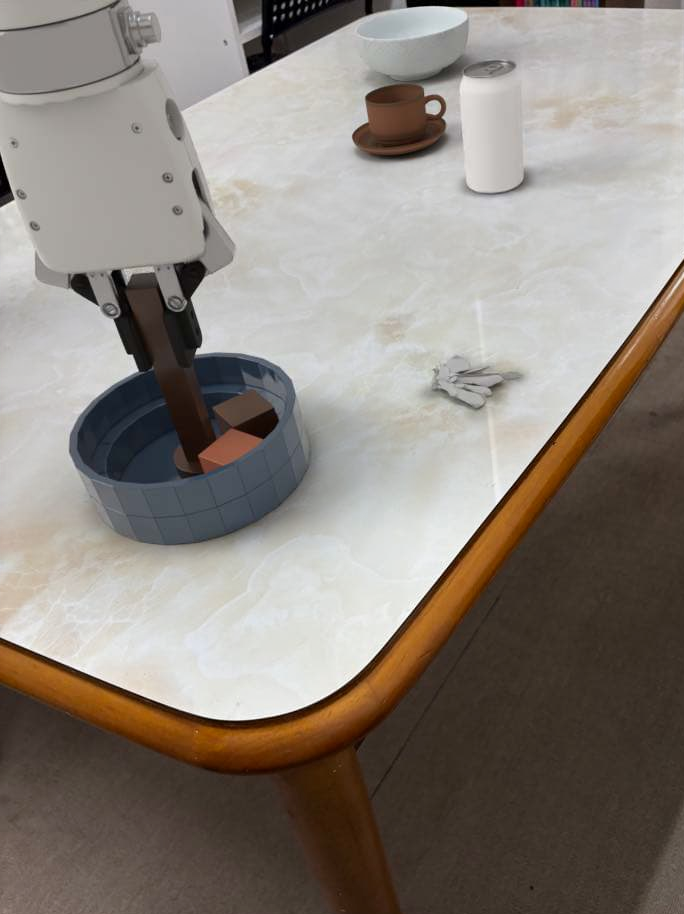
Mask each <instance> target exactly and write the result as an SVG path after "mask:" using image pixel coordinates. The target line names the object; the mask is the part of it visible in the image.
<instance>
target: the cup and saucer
mask: <svg viewBox="0 0 684 914" xmlns="http://www.w3.org/2000/svg"><path fill="white" fill-rule="evenodd" d="M364 101H365V107H366V113H367V114H366V115H367V120H368V121H367V122H365V123H363V124H361V125H360V126H359V127H357V128H355V130H354V131H353V132H352V135H351V139H352V143H353V144H354V145H355V146H356V147H357V148H358V149H360V150H361V151H363V152H366V153H368V154H372V155H380V156H396V155H404V154H409V153H413V152H414V153H415V152H417V151H420V150H423V149H425V148H427V147H429V146H432V145H433V144H435V143H436V142H437V141H438V140H439V139H441V137H443V135H444V133H446V129H447V122H446V120H445V119H444V118H443V117H444V115H445V113H446V111H447V103H446V100H445V99H444V97H443V96H442V95H440V94H435V93H433V94H428V95H426V96H425V88H424V87H423V86H421V85H418V84H415V83H396V84H389V85H385V86H382V87H378V88H375V89H373V90H371V91H369V92H368V93H367V94H366V95H365V96H364ZM431 101H436V102H439V104H440V110H439V112H438V113H436V114H433V113H428V112H427V108H426V107H427V106H426V105H427V104H428V103H429V102H431Z"/></svg>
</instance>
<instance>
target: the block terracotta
mask: <svg viewBox="0 0 684 914" xmlns="http://www.w3.org/2000/svg"><path fill="white" fill-rule="evenodd" d="M263 440H264V439H261V438H258V437H255V436H252V435H249V434H246V433H244V432H241V431H238V430H235V429H232V428H231V429H230V430H229V431H227V432H226V433H225V434H224V435H222V436H221V437H220V438H219V439H218V440H216V441H215V442H214V443H213V444H211V445H210V446H209V447H208V448H207V449H205V450H204V451H203V452H202V453H200V454H199V455H198V457H199V460H200V462H201V465H202V468H203V470H204V473H207V472H210V471H212V470H214V469H217V468H219V467H221V466H224V465H226V464H228V463H231V462H233V461H235V460H236V459H238V458H239V457H241V456H242V455H244V454H246V453H247V452H249V451H250V450H252V449H253V448H255V447H257V446H258V445H259V444H260V443H261V442H262V441H263Z"/></svg>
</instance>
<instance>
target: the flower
mask: <svg viewBox="0 0 684 914" xmlns="http://www.w3.org/2000/svg"><path fill="white" fill-rule="evenodd" d="M440 362H441V360H440V361H439V360H438V364H436V366H435V367H433V368H431V371H433V373H432V374H433V376H432V377H431V380H430V386H431V388H430V390H434V389H436V387H437V388H438V389H442V390H444V391H446V392H447V393H448V395H449V396H451V397H452V398H453V397H454V398H457V399H459V400H461V401H463V402H464V403H467V404H468V405H470V406H471V407H474V408H475V409H478V408H480V407H482V406H484V403H485V399H484V398H483V397H482V396H481V395H480V394H479V393H483V394H484V396H485V397H489V396H492V394H493V393H492V391H491V389H490V388H489V387H492V386H494V385H496V384H499V383H500V382H502V381H503V380H506V381H507V380H508V381H509V380H513V379H518V378H521V377H522V376H524V374H523V373H522V372H519V371H507V372H505V373H502V374H500V371H494V370H491V371H485V370H487V369H489V368H491V366H490V365H487V366H483V367H479V368H475V369H471V370H470V361H468V360H467V359H466V358H465V357H462V356H460V355H458V354H454V355H453V356H452V357H451V358H450V359H449V360H448V361H447V362H445V363H444V364H442V363H440ZM465 371H467V372H465ZM483 371H485V372H483ZM459 372H464V373H459ZM480 372H481V373H480ZM473 384H475V385H473ZM468 390H470V391H468Z"/></svg>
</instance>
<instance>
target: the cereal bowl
mask: <svg viewBox="0 0 684 914" xmlns="http://www.w3.org/2000/svg"><path fill="white" fill-rule="evenodd" d="M469 19H470V18H469V14H468V13H467V12H466V11H465V10H463V9H460V8H456V7H450V6H439V5H437V6H435V5H429V6H415V7H408V8H400V9H396V10H395V9H394V10H391V11H387V12H384V13H380V14H377V15H374V16H372V17H369V18H367V19H365V20H364V21H362V22H360V23H359V24H358V25H356V27H355V29H354V38H355V44H356V48H357V51H358V54H359V57H360V58H361V59H362V61H363V62H364V64H365V65H366V66H367V67H368V68H370V70H373V71H374V72H376V73H378V74H382V75H386V76H389V77H390V78H391V79H392V80H394V81H399V82H414V81H420V80H425V79H429V78H432V77H435V76H436V75H438V74H440V73H441V72H442V70H443V69H444V68H447V67H448V66H450V65H453V63H455V62H456V61H457V60H458V59H459V58H460V57H461V56H462V54H463V53H464V51H465V49H466V47H467V43H468V39H469V32H470V20H469Z"/></svg>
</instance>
